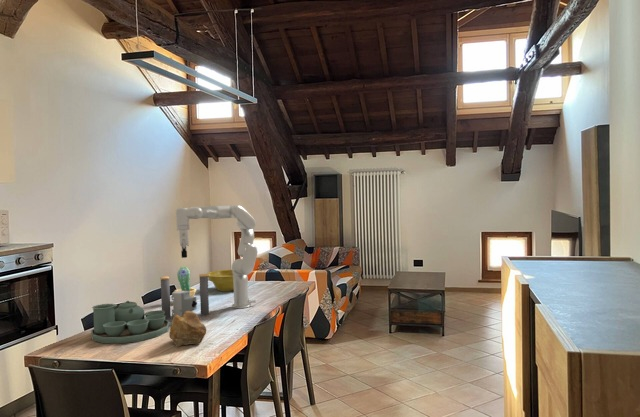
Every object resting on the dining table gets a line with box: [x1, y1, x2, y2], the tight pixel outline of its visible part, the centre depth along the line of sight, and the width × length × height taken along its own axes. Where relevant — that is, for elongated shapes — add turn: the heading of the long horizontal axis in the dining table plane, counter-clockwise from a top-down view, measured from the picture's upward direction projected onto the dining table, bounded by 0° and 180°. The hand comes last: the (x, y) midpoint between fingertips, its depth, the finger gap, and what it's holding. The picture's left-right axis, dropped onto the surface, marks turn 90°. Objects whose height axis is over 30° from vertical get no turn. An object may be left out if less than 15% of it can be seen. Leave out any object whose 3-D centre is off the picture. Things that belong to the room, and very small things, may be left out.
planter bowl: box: [206, 269, 234, 292], centre depth 374 cm, size 32×32×13 cm
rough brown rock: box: [169, 311, 207, 347], centre depth 237 cm, size 23×17×15 cm
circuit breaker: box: [171, 291, 198, 318], centre depth 291 cm, size 8×14×15 cm, turn 78°
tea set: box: [90, 300, 170, 344], centre depth 258 cm, size 40×40×16 cm
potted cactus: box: [173, 265, 197, 297], centre depth 333 cm, size 15×15×25 cm
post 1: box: [160, 276, 172, 320], centre depth 288 cm, size 5×5×25 cm
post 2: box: [198, 273, 210, 316], centre depth 294 cm, size 5×5×25 cm
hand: (184, 257), depth 291 cm, fingers closed
